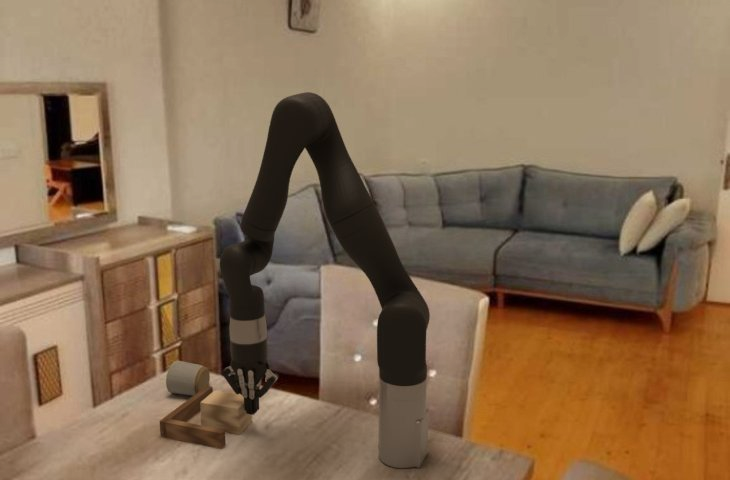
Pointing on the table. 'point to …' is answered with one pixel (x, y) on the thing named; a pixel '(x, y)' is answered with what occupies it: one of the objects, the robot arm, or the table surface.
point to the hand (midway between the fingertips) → (251, 412)
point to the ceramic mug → (186, 378)
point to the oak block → (225, 412)
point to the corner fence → (189, 432)
